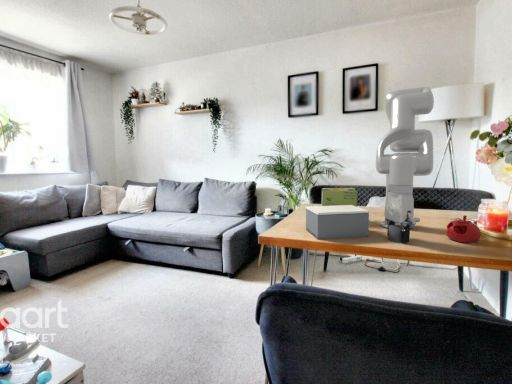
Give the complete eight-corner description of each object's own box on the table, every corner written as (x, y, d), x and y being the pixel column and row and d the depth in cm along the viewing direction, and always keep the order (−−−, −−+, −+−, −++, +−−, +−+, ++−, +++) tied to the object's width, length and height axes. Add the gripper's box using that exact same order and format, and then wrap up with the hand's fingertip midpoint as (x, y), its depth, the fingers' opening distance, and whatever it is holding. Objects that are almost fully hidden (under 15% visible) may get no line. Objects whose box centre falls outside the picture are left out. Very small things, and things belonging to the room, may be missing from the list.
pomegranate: (464, 236, 100) (466, 212, 99) (488, 244, 90) (490, 217, 89) (438, 236, 100) (440, 212, 99) (459, 245, 90) (461, 218, 89)
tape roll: (400, 237, 100) (400, 224, 99) (412, 242, 93) (412, 228, 93) (384, 238, 99) (384, 225, 98) (395, 243, 93) (395, 229, 92)
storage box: (350, 227, 115) (351, 207, 114) (368, 236, 101) (368, 213, 100) (305, 229, 113) (306, 208, 112) (317, 239, 99) (317, 215, 98)
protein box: (356, 224, 121) (357, 190, 119) (321, 222, 124) (322, 190, 122) (353, 219, 131) (353, 187, 130) (321, 218, 134) (321, 187, 133)
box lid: (351, 206, 114) (351, 204, 114) (368, 212, 100) (369, 210, 100) (306, 208, 112) (306, 206, 111) (317, 214, 98) (317, 212, 98)
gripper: (376, 187, 102) (374, 232, 104) (407, 192, 85) (404, 247, 87) (394, 187, 103) (392, 232, 105) (428, 192, 86) (425, 245, 88)
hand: (397, 238), depth 96 cm, fingers closed on tape roll, 6 cm apart
